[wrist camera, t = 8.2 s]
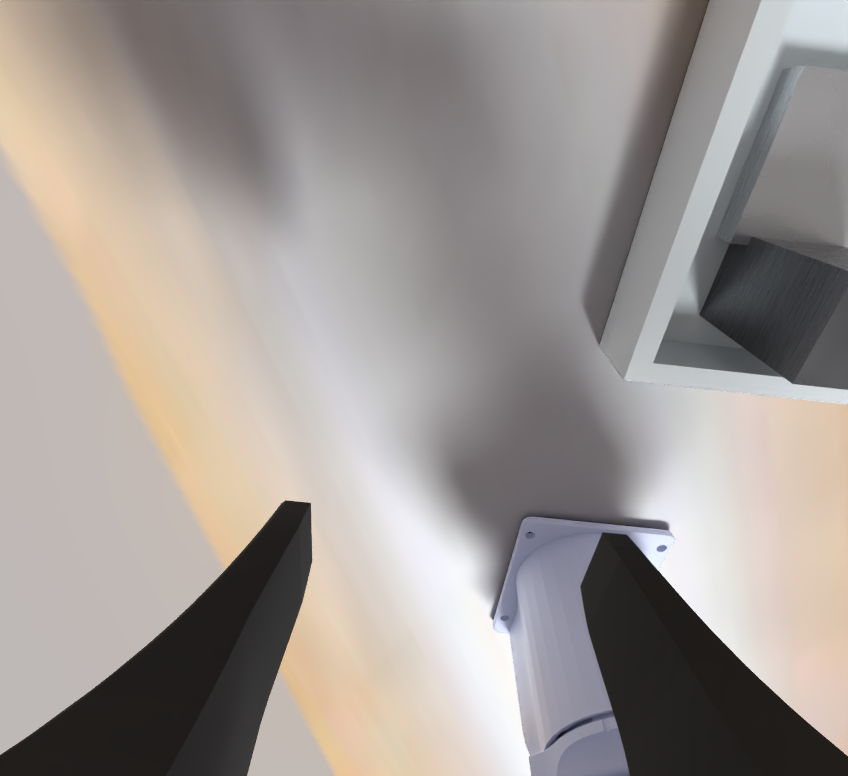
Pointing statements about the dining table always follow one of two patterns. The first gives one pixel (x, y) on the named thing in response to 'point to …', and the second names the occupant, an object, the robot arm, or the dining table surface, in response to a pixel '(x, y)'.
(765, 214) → the grey l-shaped block
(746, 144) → the bin
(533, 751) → the robot arm
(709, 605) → the dining table surface
